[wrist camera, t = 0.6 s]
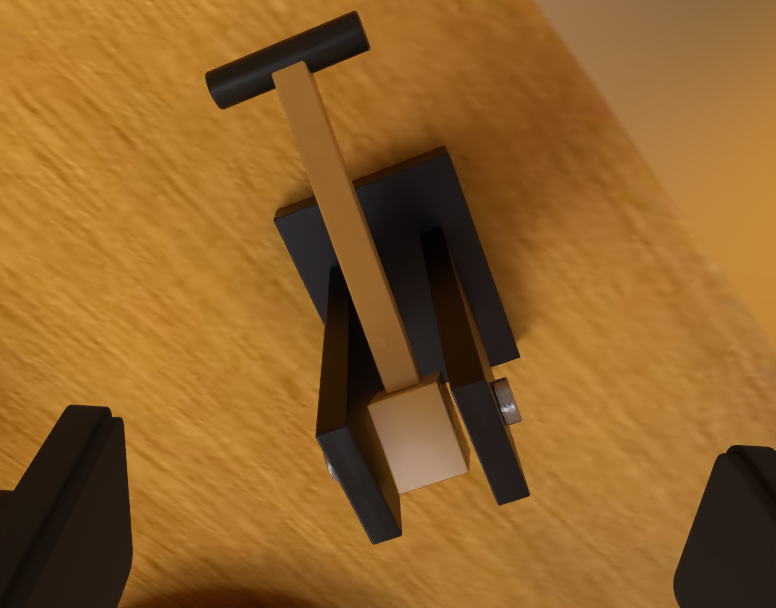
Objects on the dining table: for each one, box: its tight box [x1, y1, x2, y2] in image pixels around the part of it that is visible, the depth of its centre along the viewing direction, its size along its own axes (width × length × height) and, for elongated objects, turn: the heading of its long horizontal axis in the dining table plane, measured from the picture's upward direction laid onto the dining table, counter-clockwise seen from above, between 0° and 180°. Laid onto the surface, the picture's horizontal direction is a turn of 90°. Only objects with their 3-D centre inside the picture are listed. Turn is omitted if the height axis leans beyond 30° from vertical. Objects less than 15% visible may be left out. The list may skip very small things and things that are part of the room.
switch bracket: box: [274, 146, 530, 544], centre depth 27 cm, size 10×8×13 cm
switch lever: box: [205, 11, 470, 494], centre depth 23 cm, size 14×5×2 cm, turn 21°
